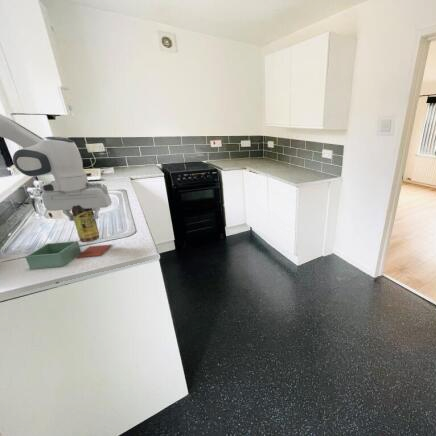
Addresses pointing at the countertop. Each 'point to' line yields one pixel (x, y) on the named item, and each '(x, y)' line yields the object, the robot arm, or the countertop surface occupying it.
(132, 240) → the countertop surface
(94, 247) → the drying mat
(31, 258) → the green open tray
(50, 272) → the countertop surface
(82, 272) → the countertop surface
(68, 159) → the robot arm
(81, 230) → the sauce bottle
